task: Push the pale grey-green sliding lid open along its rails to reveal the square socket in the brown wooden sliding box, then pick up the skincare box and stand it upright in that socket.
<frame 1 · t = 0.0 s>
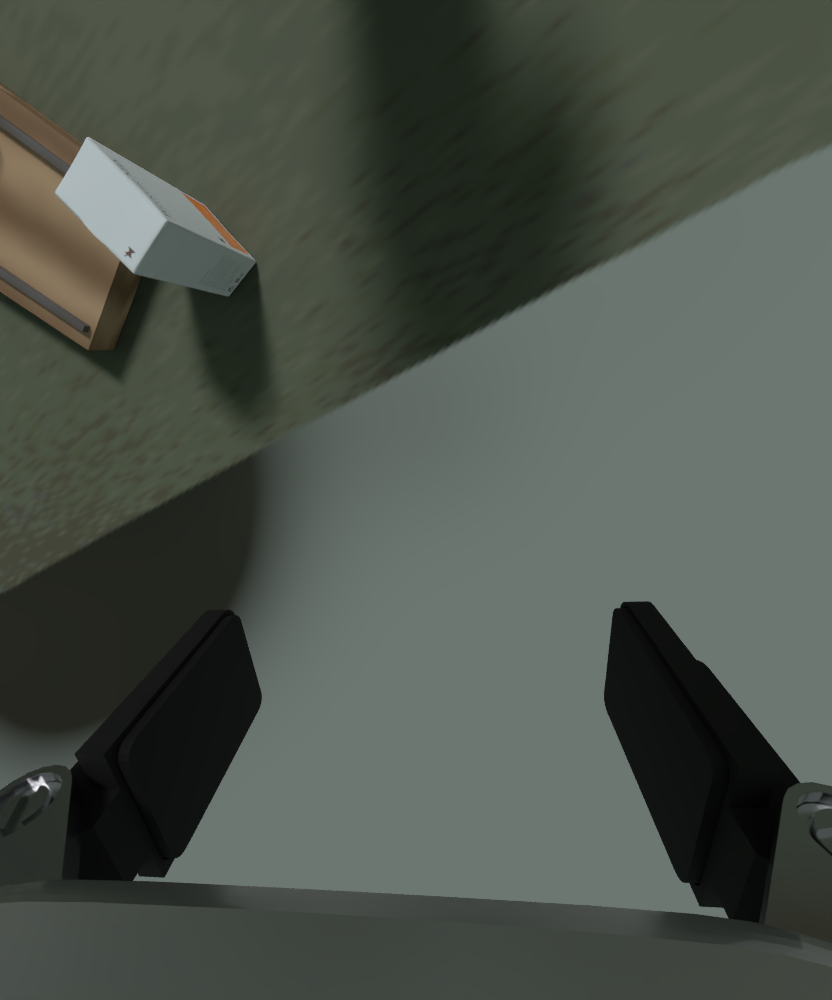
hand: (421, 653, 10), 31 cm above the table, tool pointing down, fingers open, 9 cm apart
skincare box: (218, 252, 36), on the table
brown wooden sliding box: (12, 194, 35), on the table
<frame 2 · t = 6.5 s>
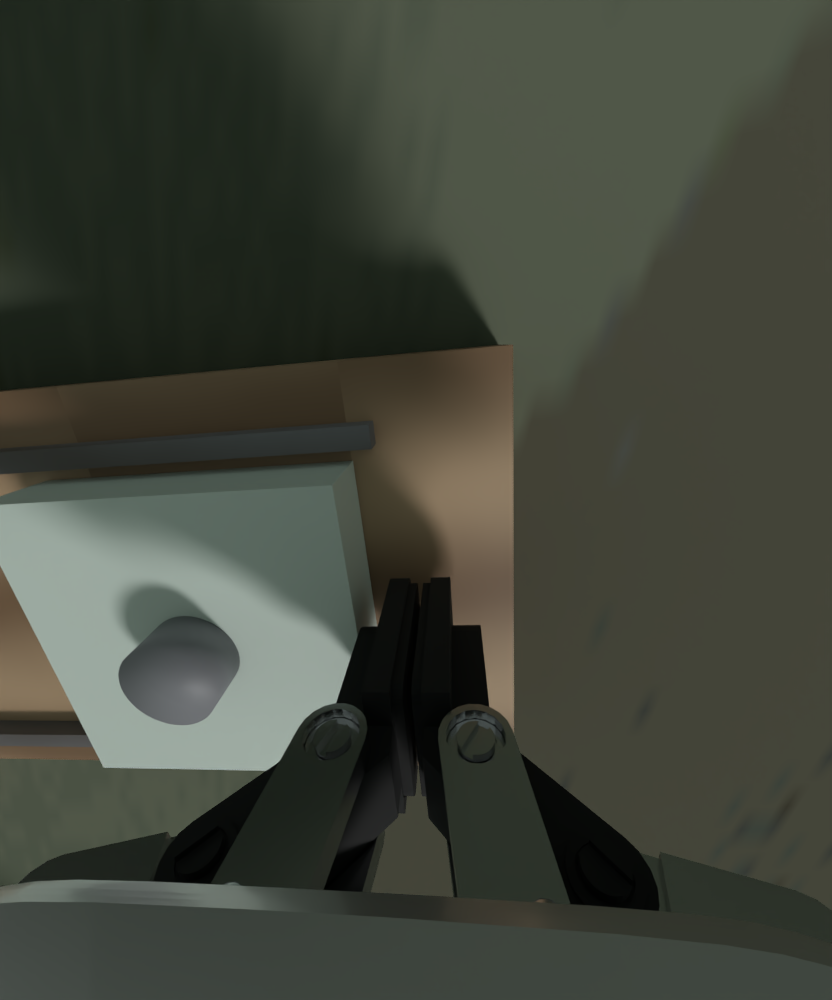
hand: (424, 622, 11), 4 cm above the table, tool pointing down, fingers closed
lid: (204, 642, 11), point 5 cm above the table, slide at 0.7 cm, touching gripper
brown wooden sliding box: (192, 563, 16), on the table
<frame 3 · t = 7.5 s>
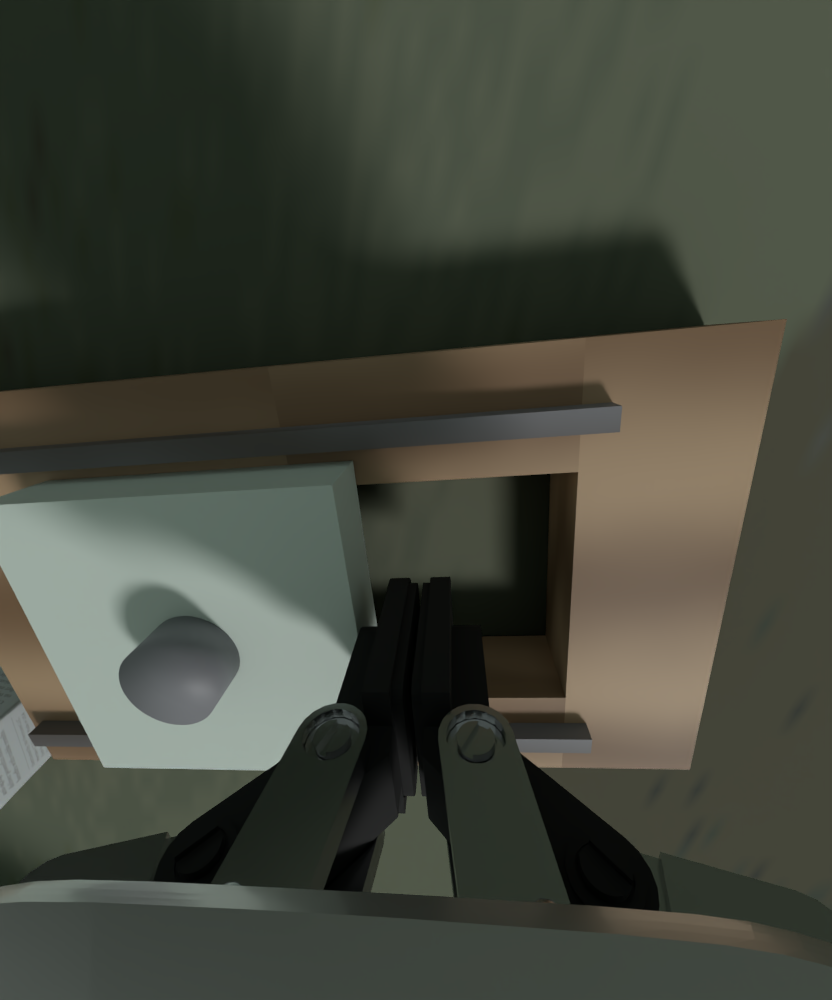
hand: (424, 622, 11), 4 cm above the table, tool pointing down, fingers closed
lid: (204, 642, 11), point 5 cm above the table, slide at 6.5 cm, touching gripper
skincare box: (17, 686, 20), on the table
brown wooden sliding box: (336, 557, 15), on the table
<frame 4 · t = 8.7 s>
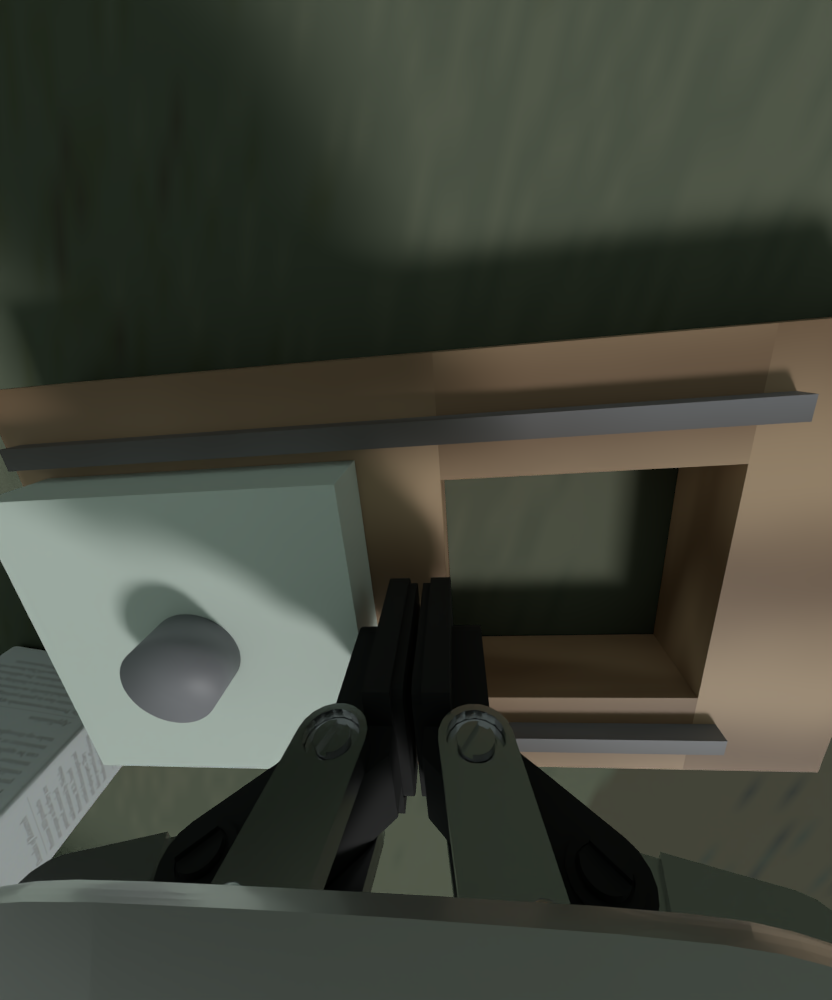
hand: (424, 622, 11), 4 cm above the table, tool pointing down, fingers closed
lid: (205, 641, 11), point 5 cm above the table, slide at 10.5 cm, touching gripper
skincare box: (92, 684, 19), on the table
brown wooden sliding box: (443, 552, 15), on the table
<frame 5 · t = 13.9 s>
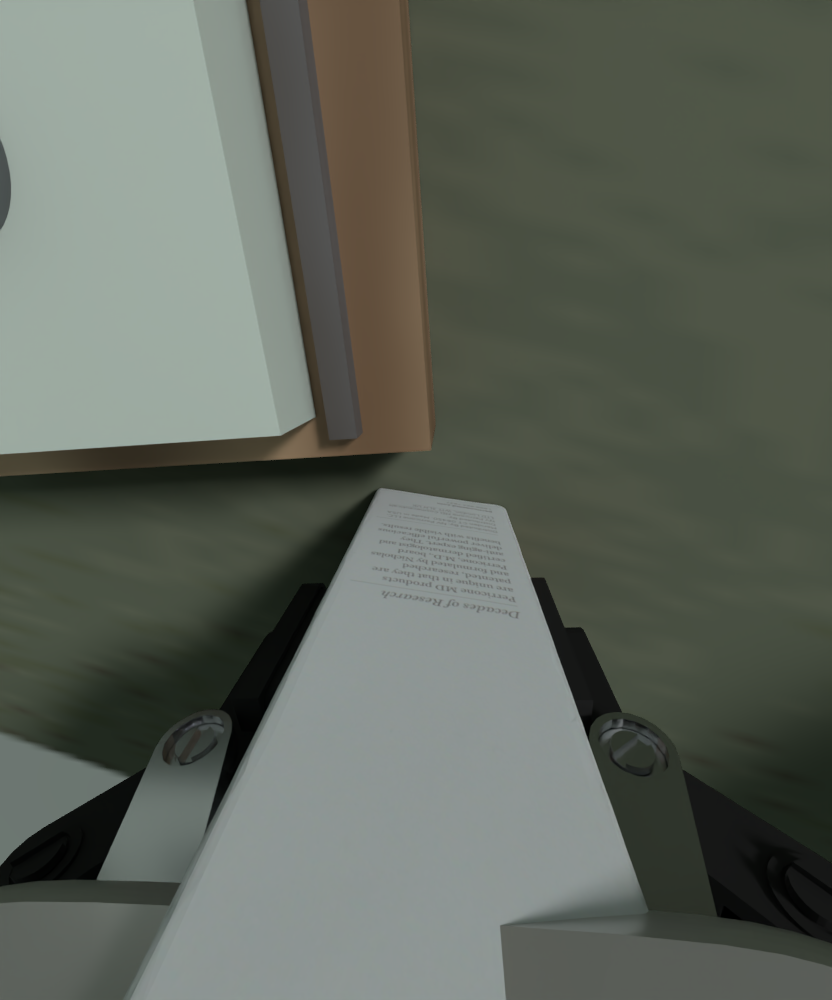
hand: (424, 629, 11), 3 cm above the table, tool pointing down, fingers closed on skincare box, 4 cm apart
skincare box: (430, 569, 14), on the table, touching gripper
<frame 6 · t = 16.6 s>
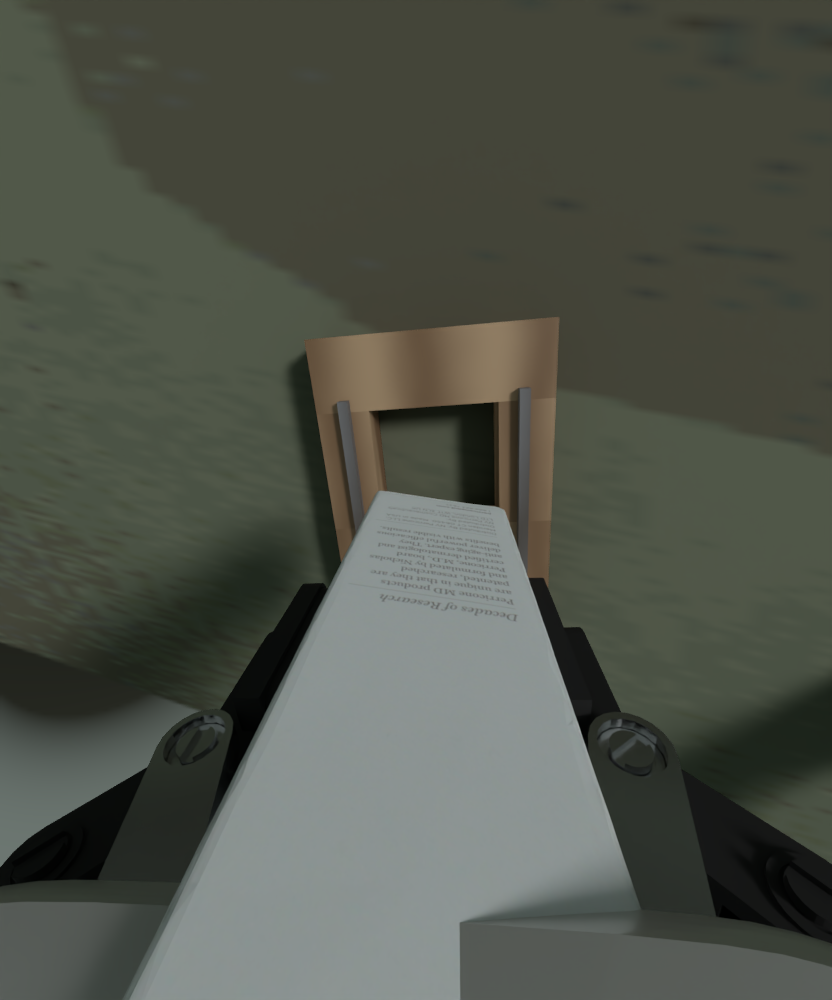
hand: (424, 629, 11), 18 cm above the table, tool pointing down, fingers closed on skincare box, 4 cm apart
skincare box: (430, 571, 14), point 15 cm above the table, touching gripper
brown wooden sliding box: (441, 510, 29), on the table
when the fingers open (4 cm above the table, at t = 19.4 s): skincare box drops 1 cm, resting in brown wooden sliding box.
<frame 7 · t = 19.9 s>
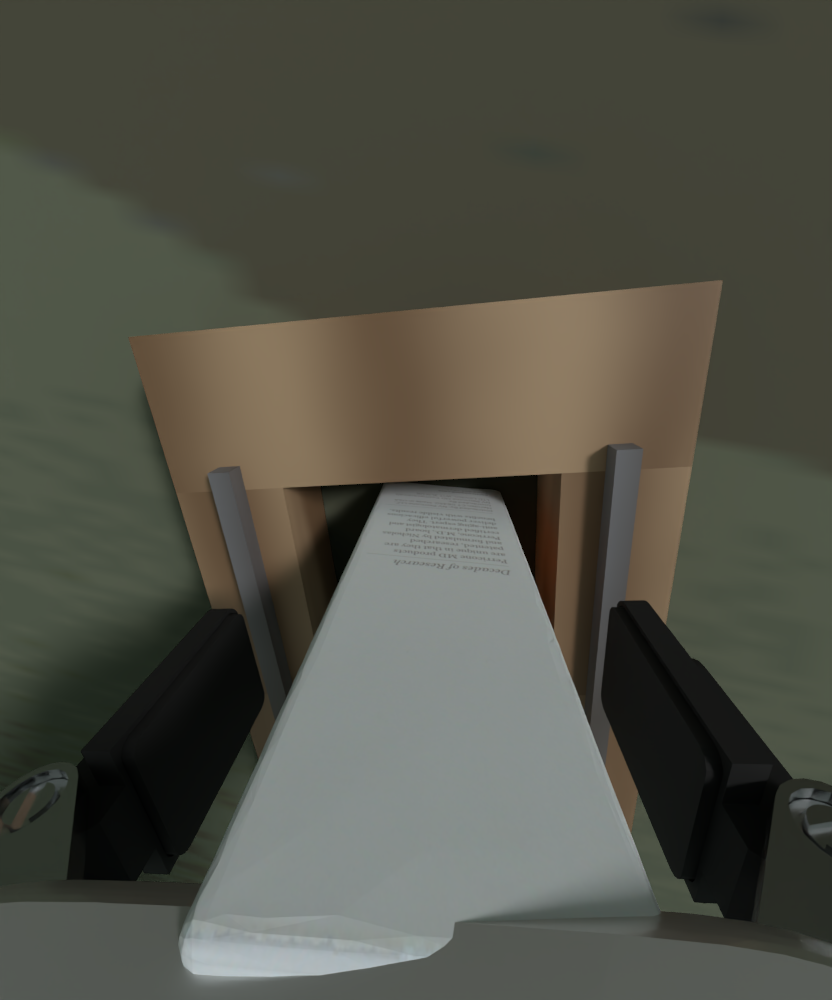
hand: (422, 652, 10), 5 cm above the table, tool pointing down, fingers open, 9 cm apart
skincare box: (436, 553, 15), resting in brown wooden sliding box
brown wooden sliding box: (438, 639, 16), on the table
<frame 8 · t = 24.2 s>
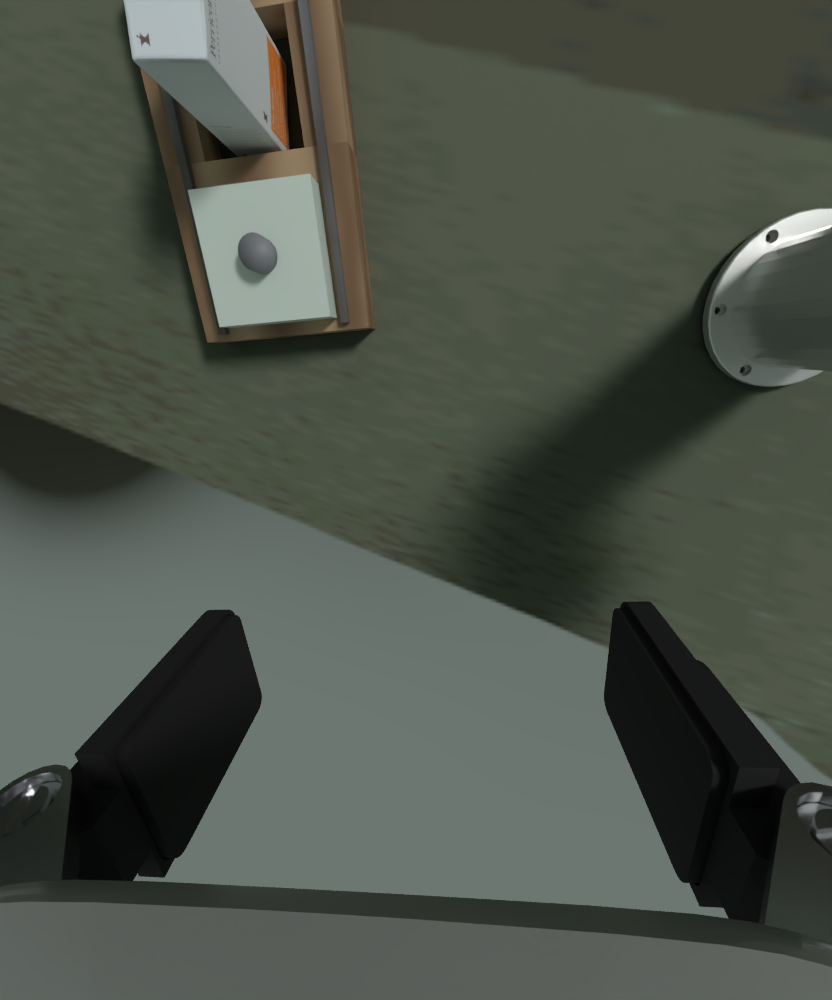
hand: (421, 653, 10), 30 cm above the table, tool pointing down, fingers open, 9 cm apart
lid: (263, 256, 30), point 5 cm above the table, slide at 10.6 cm
skincare box: (264, 114, 31), resting in brown wooden sliding box
brown wooden sliding box: (271, 174, 32), on the table
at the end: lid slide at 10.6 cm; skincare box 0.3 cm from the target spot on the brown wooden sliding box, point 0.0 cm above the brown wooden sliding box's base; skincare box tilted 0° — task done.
